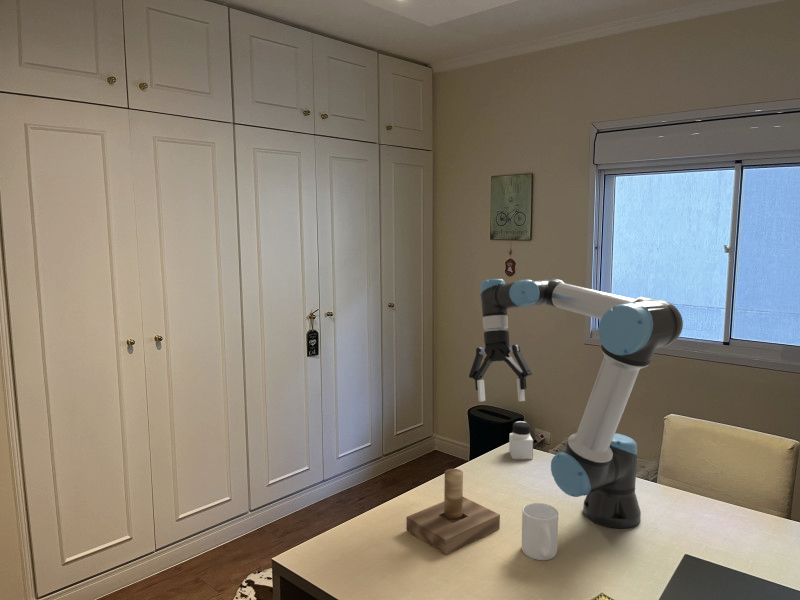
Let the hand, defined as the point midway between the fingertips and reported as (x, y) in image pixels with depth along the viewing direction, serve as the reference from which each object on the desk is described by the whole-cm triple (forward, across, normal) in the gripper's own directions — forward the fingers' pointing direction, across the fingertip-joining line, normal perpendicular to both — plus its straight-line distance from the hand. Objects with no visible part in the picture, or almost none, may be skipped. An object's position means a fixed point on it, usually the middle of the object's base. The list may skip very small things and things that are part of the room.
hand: (501, 401), depth 174 cm
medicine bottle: (+22, +14, -34) cm, 43 cm away
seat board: (+32, +4, +23) cm, 40 cm away
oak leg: (+32, +4, +23) cm, 40 cm away
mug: (+36, -19, +19) cm, 45 cm away
